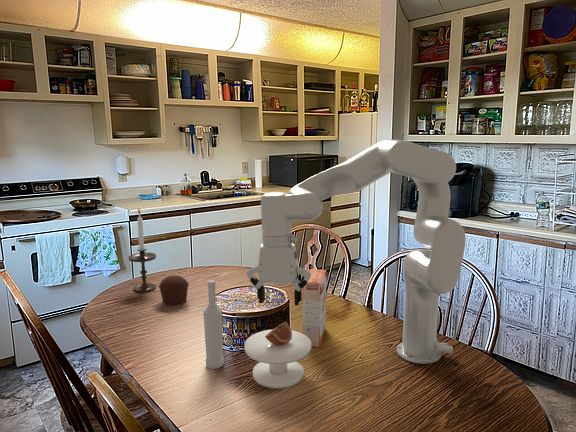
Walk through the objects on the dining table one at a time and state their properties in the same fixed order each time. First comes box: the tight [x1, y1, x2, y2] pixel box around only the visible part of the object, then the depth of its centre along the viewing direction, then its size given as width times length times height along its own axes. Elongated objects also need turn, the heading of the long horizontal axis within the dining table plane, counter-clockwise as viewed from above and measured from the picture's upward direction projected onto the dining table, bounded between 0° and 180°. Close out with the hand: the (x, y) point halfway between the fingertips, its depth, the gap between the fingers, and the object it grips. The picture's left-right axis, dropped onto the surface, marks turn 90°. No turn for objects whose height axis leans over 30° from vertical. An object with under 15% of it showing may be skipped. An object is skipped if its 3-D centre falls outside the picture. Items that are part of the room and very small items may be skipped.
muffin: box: [158, 275, 190, 306], centre depth 175 cm, size 12×11×10 cm
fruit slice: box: [265, 321, 292, 345], centre depth 121 cm, size 8×7×5 cm
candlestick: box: [128, 207, 157, 294], centre depth 186 cm, size 11×11×35 cm
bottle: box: [202, 279, 225, 370], centre depth 126 cm, size 5×5×25 cm
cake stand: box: [244, 328, 312, 390], centre depth 122 cm, size 18×18×9 cm
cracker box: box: [302, 268, 327, 348], centre depth 142 cm, size 14×6×21 cm, turn 168°
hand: (279, 302), depth 119 cm, fingers open, 9 cm apart
